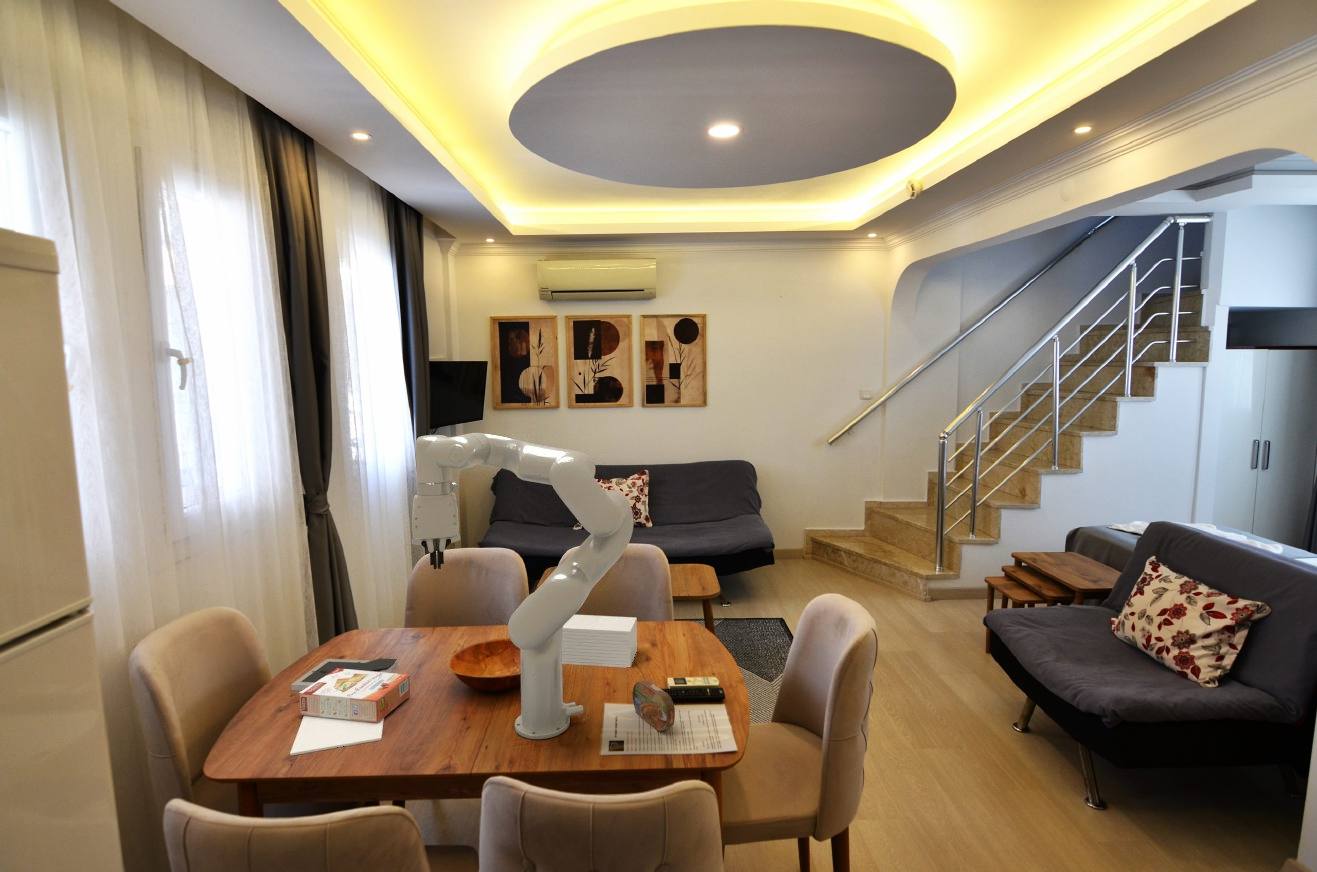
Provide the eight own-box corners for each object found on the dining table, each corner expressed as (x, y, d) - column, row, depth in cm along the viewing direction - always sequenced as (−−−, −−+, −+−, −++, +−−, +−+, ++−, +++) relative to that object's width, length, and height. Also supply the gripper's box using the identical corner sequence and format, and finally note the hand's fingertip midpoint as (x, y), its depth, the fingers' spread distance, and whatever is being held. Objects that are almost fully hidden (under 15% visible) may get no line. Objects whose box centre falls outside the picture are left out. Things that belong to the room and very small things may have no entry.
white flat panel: (386, 695, 165) (386, 693, 165) (381, 740, 144) (381, 737, 144) (307, 707, 159) (307, 705, 159) (290, 755, 138) (289, 753, 138)
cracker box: (377, 698, 150) (297, 692, 153) (378, 723, 150) (298, 716, 154) (410, 672, 164) (336, 666, 167) (411, 695, 164) (337, 689, 168)
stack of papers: (520, 662, 185) (519, 625, 184) (532, 646, 196) (532, 612, 195) (630, 668, 181) (630, 631, 180) (636, 652, 192) (636, 617, 191)
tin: (631, 709, 158) (631, 676, 157) (642, 706, 160) (642, 673, 159) (665, 738, 145) (665, 702, 145) (677, 734, 147) (677, 698, 146)
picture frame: (397, 668, 182) (327, 665, 184) (396, 658, 182) (326, 656, 184) (367, 695, 166) (291, 692, 168) (367, 684, 166) (290, 681, 168)
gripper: (467, 484, 154) (469, 560, 156) (400, 488, 149) (403, 566, 151) (469, 489, 147) (471, 568, 148) (398, 493, 142) (401, 575, 143)
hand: (437, 567), depth 149 cm, fingers closed
